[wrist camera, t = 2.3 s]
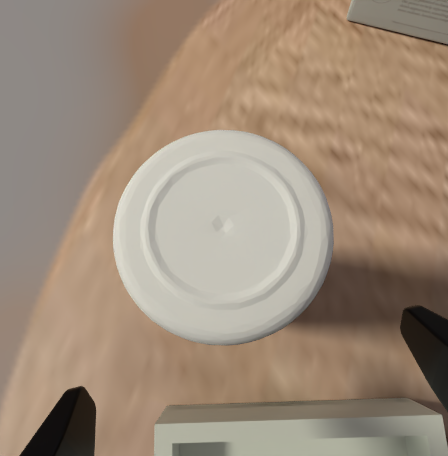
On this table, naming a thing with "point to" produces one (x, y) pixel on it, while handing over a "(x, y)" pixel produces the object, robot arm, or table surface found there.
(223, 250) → the sprinkles bottle
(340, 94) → the table surface
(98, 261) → the table surface
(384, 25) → the small box
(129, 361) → the table surface
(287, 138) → the table surface
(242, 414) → the tray
